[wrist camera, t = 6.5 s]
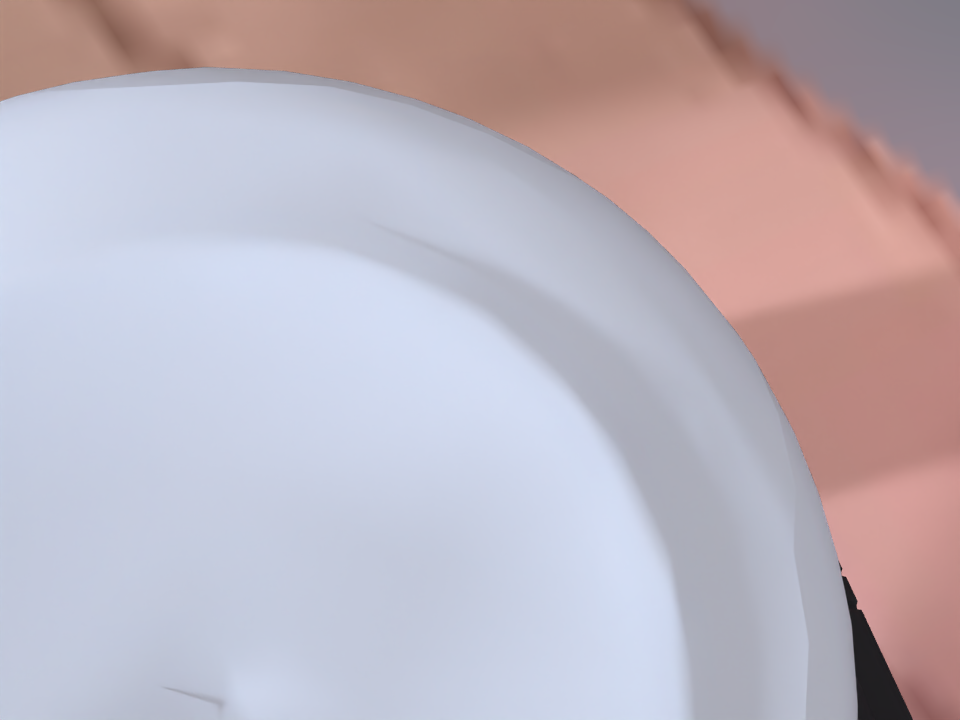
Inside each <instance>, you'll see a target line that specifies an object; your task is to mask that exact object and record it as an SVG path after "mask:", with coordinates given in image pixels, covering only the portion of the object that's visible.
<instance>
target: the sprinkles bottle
mask: <svg viewBox="0 0 960 720" xmlns="http://www.w3.org/2000/svg"><path fill="white" fill-rule="evenodd" d="M857 719H858V702H857V689H856V675H855V662H854V649H853V635H852V624H851V619H850V614H849V609H848V604H847V599H846V594H845V589H844V584H843V579H842V575H841V570H840V566H839V562H838V557H837V553H836V550H835V547H834V543H833V540H832V536H831V533H830V530H829V526H828V523H827V520H826V516H825V513H824V510H823V506H822V503H821V499H820V496H819V493H818V490H817V488H816V485H815V483H814V480H813V478H812V475H811V473H810V470H809V468H808V465H807V463H806V460H805V458H804V455H803V453H802V450H801V448H800V445H799V443H798V440H797V438H796V435H795V433H794V431H793V429H792V427H791V425H790V423H789V421H788V419H787V418H786V416H785V414H784V412H783V410H782V408H781V406H780V405H779V403H778V401H777V399H776V397H775V395H774V394H773V392H772V390H771V388H770V386H769V384H768V383H767V381H766V379H765V377H764V375H763V373H762V371H761V370H760V368H759V366H758V364H757V362H756V360H755V359H754V357H753V356H752V354H751V353H750V351H749V350H748V348H747V347H746V345H745V344H744V342H743V341H742V339H741V338H740V337H739V335H738V334H737V332H736V331H735V330H734V328H733V327H732V326H731V325H730V324H729V322H728V321H727V320H726V319H725V317H724V316H723V315H722V314H721V313H720V311H719V310H718V309H717V308H716V306H715V305H714V304H713V303H712V301H711V300H710V299H709V298H708V297H707V295H706V294H705V293H704V292H703V290H702V289H701V288H700V287H699V285H698V284H697V283H696V282H695V281H694V279H693V278H692V277H691V276H690V274H689V273H688V272H687V271H686V269H685V268H684V267H683V266H682V265H681V264H680V263H679V262H678V261H677V260H676V259H675V258H674V257H673V256H672V255H671V254H670V253H669V252H668V251H667V250H666V249H665V248H664V247H663V246H662V245H661V244H660V243H659V242H658V241H657V240H656V239H655V238H654V237H653V236H652V235H651V234H650V233H649V232H648V231H647V230H645V229H644V228H643V227H642V226H641V225H639V224H638V223H637V222H636V221H635V220H633V219H632V218H631V217H630V216H629V215H627V214H626V213H625V212H624V211H623V210H621V209H620V208H619V207H618V206H617V205H615V204H614V203H613V202H612V201H611V200H609V199H608V198H607V197H605V196H604V195H602V194H601V193H599V192H598V191H597V190H595V189H594V188H592V187H591V186H589V185H588V184H586V183H585V182H583V181H582V180H580V179H579V178H578V177H576V176H575V175H573V174H571V173H570V172H568V171H566V170H565V169H563V168H562V167H560V166H558V165H557V164H555V163H553V162H552V161H550V160H548V159H547V158H545V157H544V156H542V155H540V154H539V153H537V152H535V151H534V150H532V149H530V148H529V147H527V146H525V145H523V144H521V143H519V142H517V141H514V140H512V139H510V138H508V137H506V136H504V135H502V134H500V133H498V132H496V131H494V130H492V129H489V128H487V127H485V126H483V125H481V124H479V123H477V122H475V121H473V120H471V119H468V118H466V117H463V116H460V115H458V114H455V113H453V112H450V111H447V110H444V109H441V108H439V107H436V106H433V105H430V104H428V103H425V102H422V101H419V100H417V99H413V98H410V97H406V96H402V95H398V94H395V93H391V92H387V91H384V90H380V89H376V88H372V87H369V86H365V85H361V84H358V83H354V82H349V81H343V80H337V79H330V78H324V77H318V76H312V75H306V74H300V73H294V72H288V71H274V70H255V69H236V68H216V67H201V68H187V69H174V70H161V71H150V72H142V73H134V74H126V75H120V76H113V77H106V78H99V79H92V80H86V81H79V82H73V83H68V84H64V85H60V86H56V87H52V88H48V89H43V90H39V91H35V92H31V93H27V94H22V95H18V96H15V97H12V98H9V99H6V100H3V101H0V720H857Z"/></svg>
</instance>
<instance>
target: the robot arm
mask: <svg viewBox="0 0 960 720" xmlns="http://www.w3.org/2000/svg"><path fill="white" fill-rule="evenodd" d="M838 562H839V561H838ZM839 566H840V570H841V571H842V567H841V565H840V563H839ZM842 579H843V584H844V589H845V594H846V599H847V604H848V609H849V614H850V619H851V624H852V635H853V649H854V662H855V675H856V689H857V702H858V719H857V720H913V719H912V717H911V715H910V712H909V710H908V708H907V706H906V704H905V702H904V700H903V698H902V695H901V693H900V691H899V689H898V687H897V685H896V683H895V680H894V678H893V676H892V674H891V672H890V670H889V668H888V665H887V663H886V661H885V659H884V657H883V655H882V653H881V651H880V648H879V646H878V644H877V642H876V640H875V638H874V636H873V633H872V631H871V629H870V627H869V625H868V623H867V621H866V618H865V616H864V614H863V612H862V610H858V609H857V606H856V605H857V602H858V601H857V599H856V597H855V595H854V593H853V591H852V589H851V586H850V584H849V582H848V580H847V578H846V577H844V576H842Z"/></svg>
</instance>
